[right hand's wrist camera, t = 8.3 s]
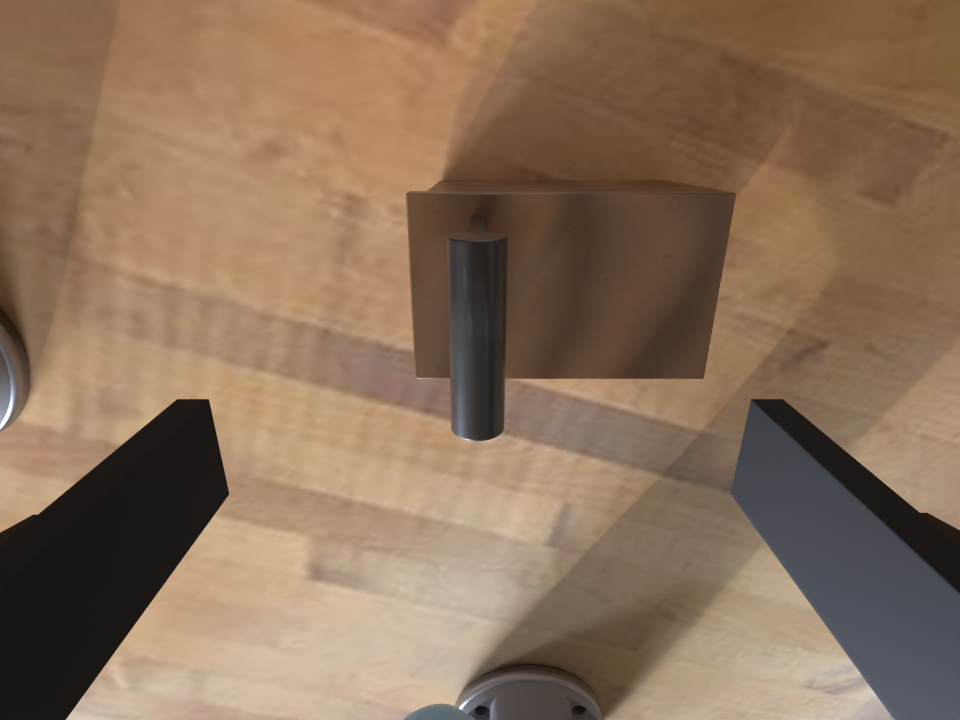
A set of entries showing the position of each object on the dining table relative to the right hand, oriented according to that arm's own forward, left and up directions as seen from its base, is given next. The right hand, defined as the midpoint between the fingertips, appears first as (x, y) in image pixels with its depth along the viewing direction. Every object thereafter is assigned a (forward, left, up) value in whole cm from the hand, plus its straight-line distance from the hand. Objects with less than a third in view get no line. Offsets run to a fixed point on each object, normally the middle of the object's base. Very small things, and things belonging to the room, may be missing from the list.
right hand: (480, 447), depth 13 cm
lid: (+2, -4, -16) cm, 17 cm away
